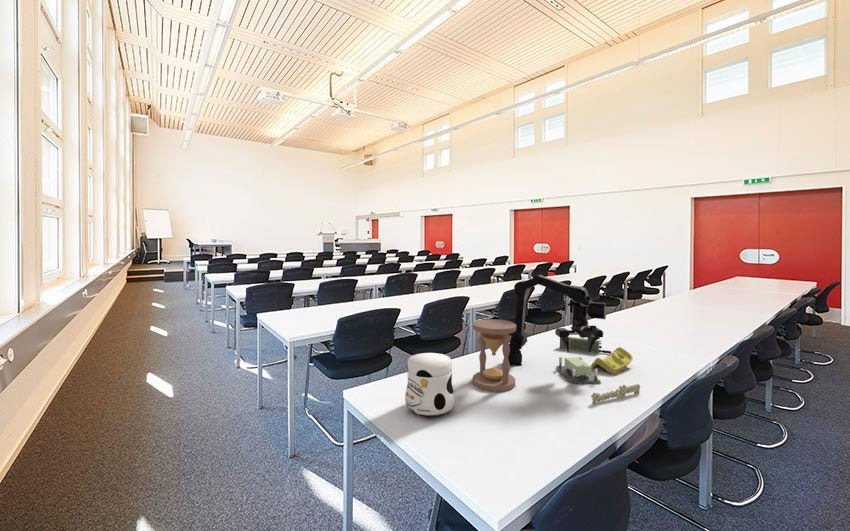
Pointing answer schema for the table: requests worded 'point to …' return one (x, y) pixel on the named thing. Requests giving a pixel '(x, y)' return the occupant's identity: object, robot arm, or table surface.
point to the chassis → (577, 378)
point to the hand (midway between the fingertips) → (578, 352)
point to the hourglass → (494, 339)
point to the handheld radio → (582, 345)
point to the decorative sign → (616, 393)
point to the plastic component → (614, 361)
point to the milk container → (429, 384)
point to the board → (578, 366)
